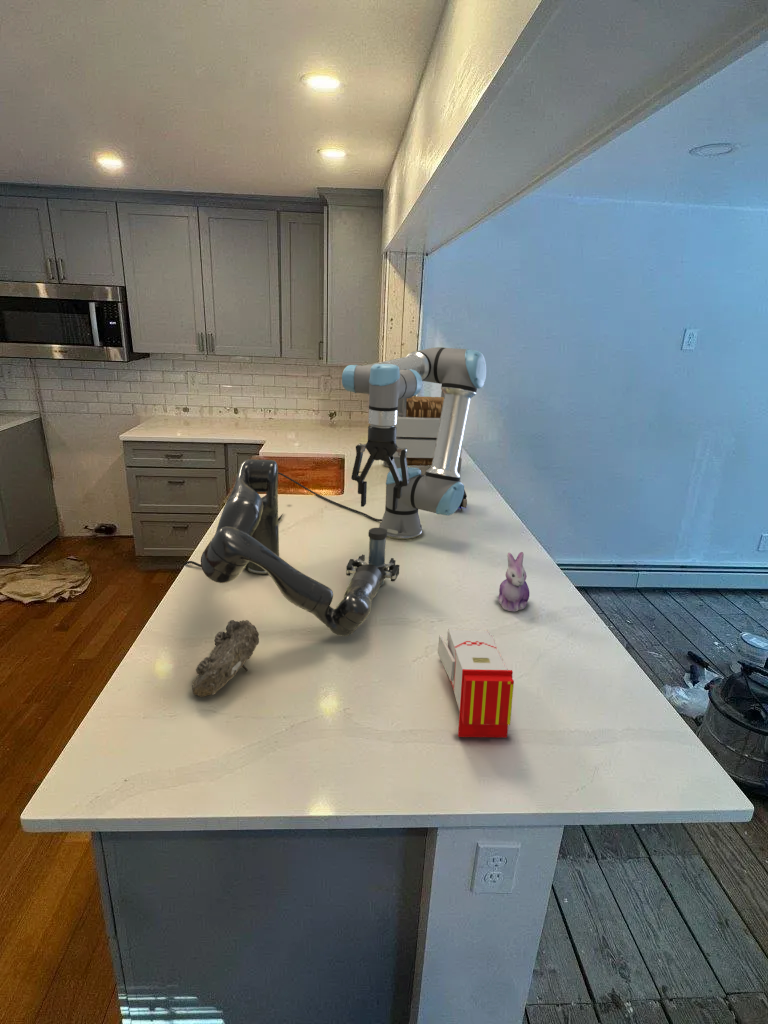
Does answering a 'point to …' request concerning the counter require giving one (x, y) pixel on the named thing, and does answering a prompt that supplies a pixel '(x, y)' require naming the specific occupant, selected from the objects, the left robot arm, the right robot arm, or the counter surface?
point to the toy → (478, 682)
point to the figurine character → (463, 502)
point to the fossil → (226, 657)
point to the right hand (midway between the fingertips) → (379, 507)
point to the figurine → (514, 585)
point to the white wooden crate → (418, 430)
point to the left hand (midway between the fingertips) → (378, 559)
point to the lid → (377, 533)
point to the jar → (377, 552)
